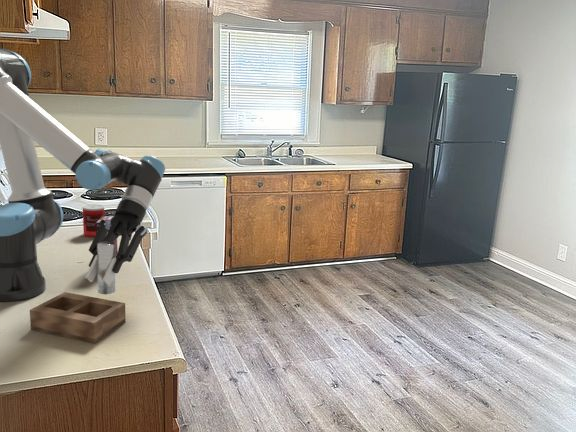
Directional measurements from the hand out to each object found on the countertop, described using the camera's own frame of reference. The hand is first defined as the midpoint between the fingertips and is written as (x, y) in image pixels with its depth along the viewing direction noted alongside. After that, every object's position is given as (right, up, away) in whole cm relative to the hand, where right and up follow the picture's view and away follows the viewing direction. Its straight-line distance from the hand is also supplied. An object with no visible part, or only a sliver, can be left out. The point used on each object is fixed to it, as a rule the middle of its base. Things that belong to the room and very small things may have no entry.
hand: (97, 281), depth 132 cm
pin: (+1, -3, +5) cm, 6 cm away
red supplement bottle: (-25, +9, +66) cm, 71 cm away
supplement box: (-8, 0, +32) cm, 33 cm away
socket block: (-2, -10, -7) cm, 12 cm away
